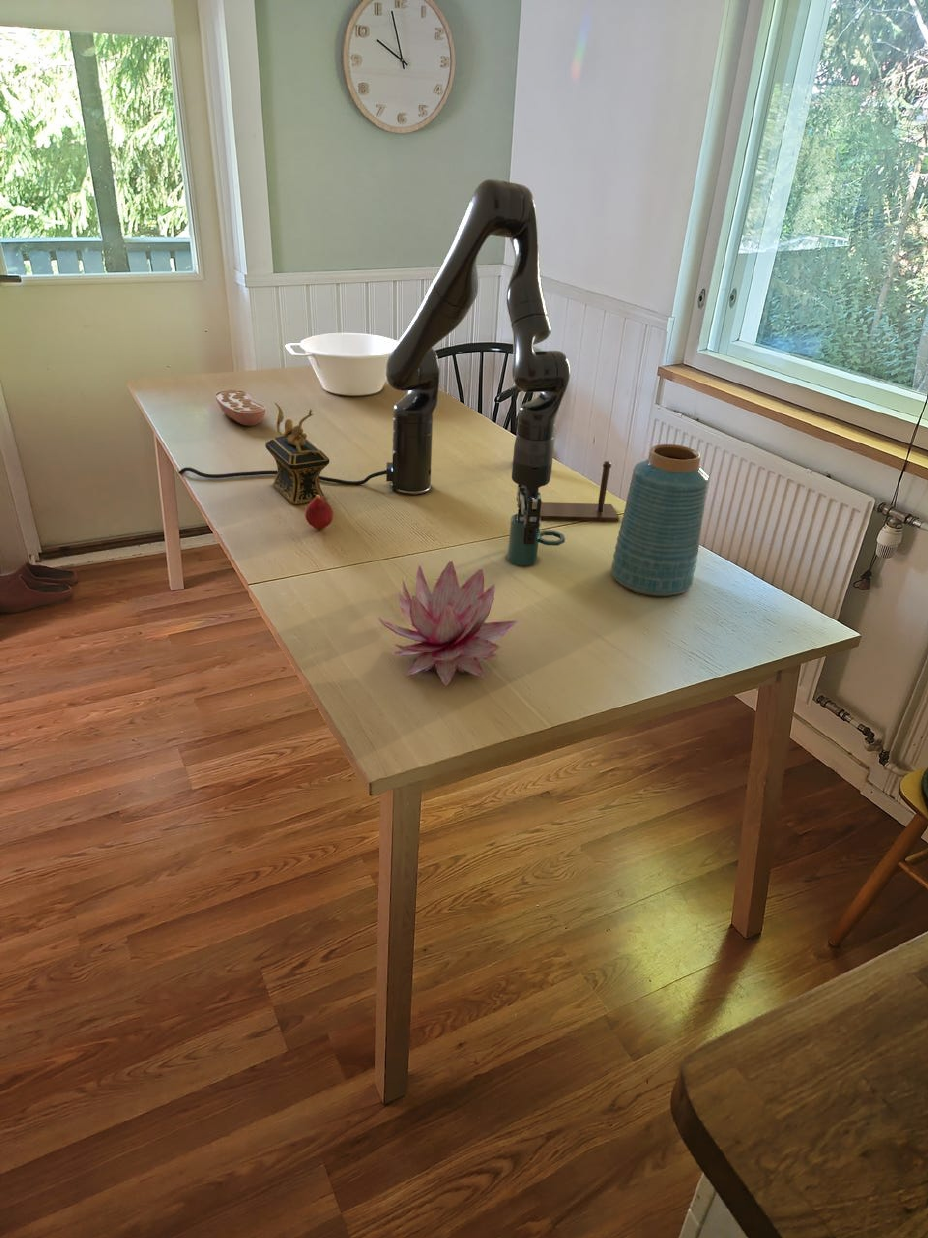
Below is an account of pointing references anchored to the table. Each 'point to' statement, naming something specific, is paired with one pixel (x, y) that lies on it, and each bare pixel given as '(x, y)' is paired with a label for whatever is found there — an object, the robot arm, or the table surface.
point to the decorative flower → (450, 624)
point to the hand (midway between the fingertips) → (525, 534)
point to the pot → (348, 361)
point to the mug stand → (582, 506)
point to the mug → (525, 552)
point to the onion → (319, 513)
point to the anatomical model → (240, 407)
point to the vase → (662, 523)
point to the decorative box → (296, 462)
